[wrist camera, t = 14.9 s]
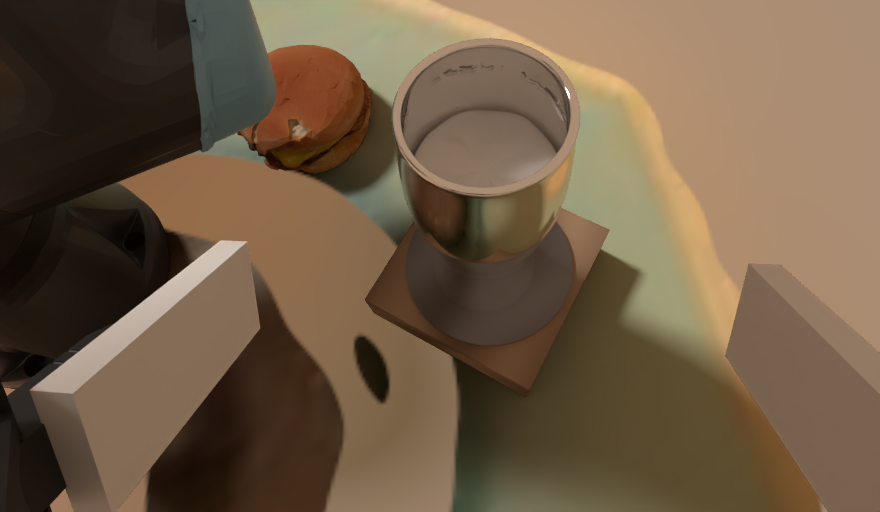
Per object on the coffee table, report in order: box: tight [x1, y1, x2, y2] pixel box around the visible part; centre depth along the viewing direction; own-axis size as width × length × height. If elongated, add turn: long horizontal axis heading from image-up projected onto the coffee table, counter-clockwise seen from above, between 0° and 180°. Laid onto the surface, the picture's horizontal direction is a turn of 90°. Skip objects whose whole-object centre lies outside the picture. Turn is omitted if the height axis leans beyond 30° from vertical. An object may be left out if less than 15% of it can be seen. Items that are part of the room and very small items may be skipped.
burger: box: [237, 45, 372, 173], centre depth 40 cm, size 10×9×5 cm
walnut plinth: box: [365, 208, 610, 397], centre depth 34 cm, size 11×11×3 cm
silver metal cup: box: [391, 39, 580, 312], centre depth 26 cm, size 7×7×15 cm
